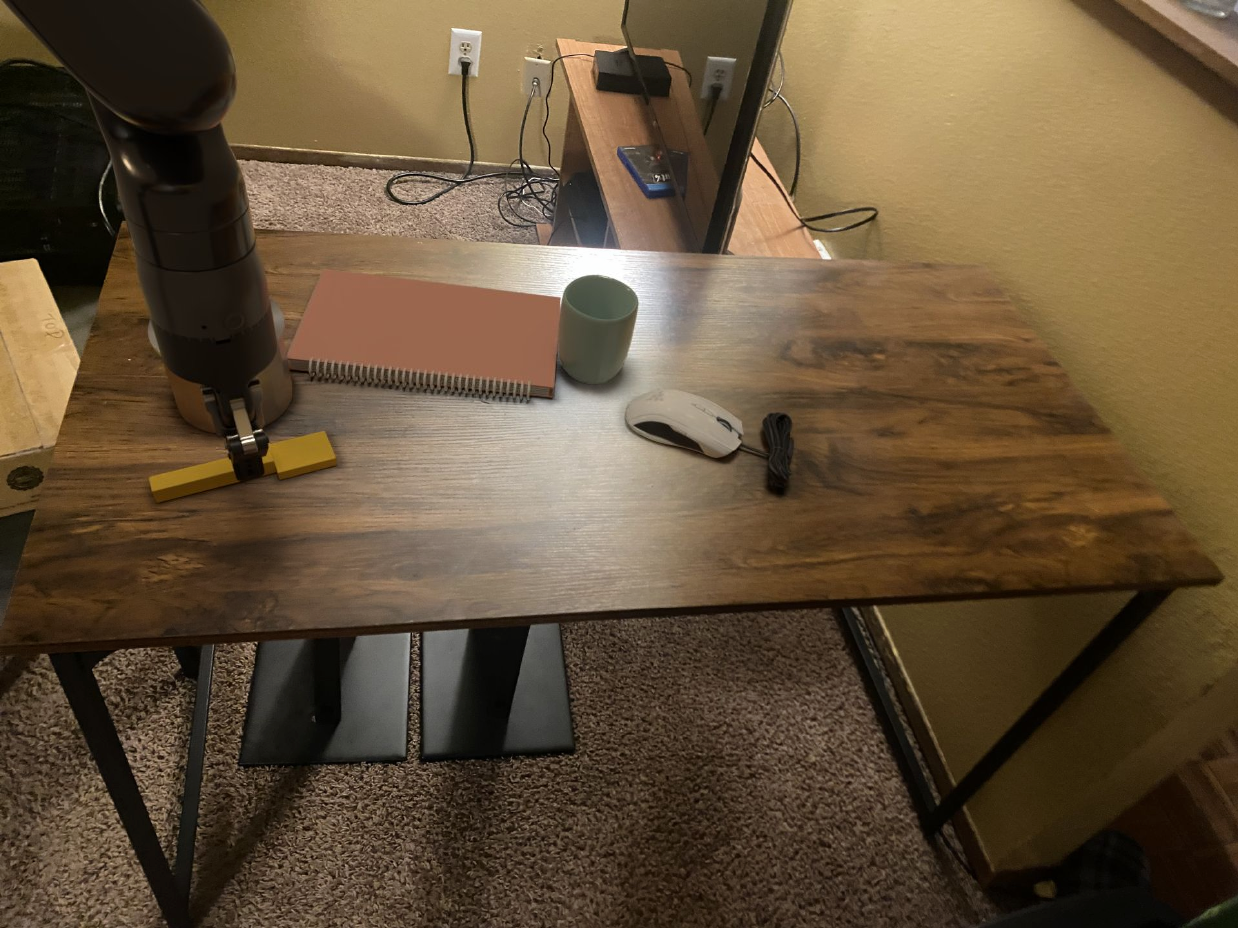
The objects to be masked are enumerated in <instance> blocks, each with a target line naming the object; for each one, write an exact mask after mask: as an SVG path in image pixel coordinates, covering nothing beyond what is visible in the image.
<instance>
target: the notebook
mask: <svg viewBox="0 0 1238 928" xmlns="http://www.w3.org/2000/svg"><path fill="white" fill-rule="evenodd" d="M561 301H562V298H561V297H560V296H552V295H545V294H535V293H528V292H521V291H512V290H503V289H496V288H488V287H478V286H471V285H462V284H461V285H460V284H452V283H446V282H439V281H438V282H437V281H430V280H422V279H414V278H413V279H412V278H404V277H398V276H388V275H381V274H380V275H379V274H370V273H364V272H357V271H356V272H355V271H346V270H339V269H332V268H331V269H330V268H322V269H321V272H320V274H319V277H318V279H317V281H316V283H315V286H314V289H313V290H312V293H311V295H310V298H309V300H308V303H307V305H306V308H305V310H304V313H303V315H302V317H301V319H300V322H299V325H298V327H297V329H296V332H295V334H294V336H293V338H292V341H291V344H290V345H289V348H288V350H287V352H286V354H287V359H288V365H289V370H292V371H302V372H308V374H309V377H314V376H315V375H316V377H317V378H321V377H322V376H323V377H324V378H325V379H329V377H330V378H331V379H332V380H335V379H336V378H337V379H338V380H341V381H342V380H343V379H345V381H350V380H351V377H352V381H353V382H357V381H358V379H359V382H361V383H364V382H365V380H366V382H367V384H368V383H372V380H373V383H374V384H378V383H379V381H380V383H381V385H385V384H386V381H387V384H388V385H389V386H392V385H393V382H394V385H395V386H396V387H399V386H400V382H401V385H402V387H406V386H407V383H408V387H409V388H413V387H414V384H415V388H416V389H420V388H421V384H422V387H423V389H424V390H427V389H428V385H429V389H430V390H434V389H435V386H436V390H437V391H440V390H442V387H443V390H444V392H447V391H448V389H449V388H450V391H451V393H454V392H455V389H456V388H457V392H458V393H462V389H464V393H465V394H468V393H469V390H471V394H472V395H475V394H476V390H478V395H481V396H482V394H483V391H485V396H489V393H490V392H492V393H491V394H492V396H493V397H496V393H498V396H499V398H501V397H503V393H505V397H506V398H509V397H510V394H512V398H513V399H516V397H517V395H519V399H520V400H522V399H523V396H524V395H525V396H526V400H527V401H529V400H530V396H535V397H543V398H552V399H553V398H554V389H555V380H556V379H555V377H556V363H557V353H558V328H559V318H560V309H561ZM344 377H345V378H344Z"/></svg>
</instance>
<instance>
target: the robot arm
mask: <svg viewBox="0 0 1238 928" xmlns="http://www.w3.org/2000/svg"><path fill="white" fill-rule="evenodd" d="M1 2H2V3H3V4H4V5H5V7H7V8H8V10H9V11H10V12H11V13H12V14H13V15H14V16H15V17H16V18H17V19H18V20H19V21H20V22H21V23H22V24H23V25H24V27H25V28H26V29H27V30H28V31H29V32H30V33H31V34H32V35H33V36H34V38H35V39H36V40H37V41H38V42H40V43H41V44H42V45H43V47H44V48H45V49H46V51H48V52H49V53H50V55H52V56H53V57H54V58H55V60H56V61H58V62H59V63H60V65H61V66H62V67H64V69H65V70H66V71H68V73H69V74H70V75H71V76H72V77H73V78H74V79H75V80H77V82H78V83H80V84H81V86H82V87H83V88H84V89H85V92H86V95H87V97H88V101H89V102H90V103H89V104H90V105H91V108H92V111H93V114H94V116H95V119H96V122H97V124H98V127H99V130H100V132H101V134H102V137H103V139H104V141H105V144H106V147H107V151H108V153H109V156H110V160H111V164H112V168H113V173H114V177H115V183H116V189H117V194H118V199H119V202H120V206H121V210H122V212H123V217H124V220H125V222H126V227H127V230H128V233H129V237H130V241H131V244H132V247H133V251H134V257H135V265H136V271H137V273H136V274H137V278H138V284H139V287H140V290H141V294H142V297H143V300H144V303H145V306H146V310H147V314H148V317H149V321H150V320H151V323H152V327H153V330H154V333H155V337H156V340H157V343H158V347H159V350H160V353H161V356H160V358H161V357H162V358H161V360H163V361H162V363H163V362H164V364H165V365H166V367H167V368H168V369H169V370H170V371H171V372H172V373H173V374H175V375H176V376H178V377H180V378H182V379H184V380H186V381H189V382H192V383H196V384H198V385H199V388H200V389H201V393H202V397H203V401H204V404H205V407H206V410H207V412H209V413H210V415H211V417H212V421H213V424H214V427H215V431H216V433H215V434H216V436H217V437H218V438H223V440H224V443H223V446H224V450H225V451H226V450H227V458H229V460H231V463H232V467H233V470H234V473H235V476H236V479H237V480H239V481H240V482H244V481H248V480H252V479H256V478H260V477H263V476H262V475H264V473H265V470H264V465H263V460H262V457H264V456H266V455H267V452H268V449H269V445H268V444H271V443H270V438H269V436H268V435H266V433H265V431H264V430H263V429H264V427H265V426H264V425H265V423H264V417H263V412H262V407H261V403H262V401H263V400H264V398H263V392H262V388H261V384H260V381H259V378H256V376H257V375H258V374H259V373H261V372H262V371H263V370H265V369H266V368H267V367H268V366H269V365H270V363H271V362H272V361H273V359H274V357H275V355H276V352H277V338H276V332H275V326H274V320H273V314H272V308H271V302H270V298H271V297H270V292H269V285H268V280H267V274H266V269H265V264H264V260H263V257H262V255H261V251H260V249H259V246H258V243H257V238H256V233H255V228H254V221H253V216H252V211H251V210H252V209H251V203H250V200H249V199H250V198H249V195H248V189H247V184H246V181H245V177H244V175H243V172H242V169H241V166H240V164H239V162H238V160H237V157H236V155H235V154H234V152H233V150H232V148H231V146H230V144H229V142H228V140H227V137H226V135H225V131H224V127H223V122H222V121H223V120H224V119H225V117H226V116H227V115H228V113H230V110H231V108H232V107H233V104H234V102H235V98H236V94H237V89H238V70H237V69H238V68H237V64H236V59H235V55H234V53H233V50H232V47H231V45H230V42H229V40H228V38H227V37H226V35H225V33H224V31H223V29H221V27H220V25H219V23H217V21H216V19H215V18H214V17H213V15H212V14H211V13H210V12H209V10H208V9H207V8H206V6H205V5H204V4H203V2H202V1H201V0H1ZM164 364H163V365H164ZM264 476H265V475H264Z"/></svg>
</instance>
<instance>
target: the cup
mask: <svg viewBox="0 0 1238 928" xmlns="http://www.w3.org/2000/svg"><path fill="white" fill-rule="evenodd" d="M639 304H640V303H639V297H638V295H637V294H636V292H635V291H634V290H633V288H632V287H630V286H629V285H627V284H626V283H625V282H622V281H621V280H618V279H616V278H613V277H610V276H606V275H603V274H602V275H601V274H587V275H582V276H580V277H577V278H575V279H573V280H572V281H570V282H569V284H567V285H566V287H565V289H564V290H563V293H562V298H561V301H560V314H559V327H558V340H557V353H558V360H559V362H560V365H561V367H562V368H563V371H564V372H565V373H566V374H567V375H569V376H570V377H571V378H573V379H574V380H576V381H578V382H580V383H583V384H588V385H601V384H604V383H606V382H609V381H610V380H612V379H613V378H614V377H616V376H617V374H618V373H619V372H620V371H621V369H622V367H623V366H624V364H625V362H626V359H627V358H628V355H629V351H630V348H631V345H632V341H633V337H634V332H635V327H636V322H637V317H638V311H639Z"/></svg>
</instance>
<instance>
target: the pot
mask: <svg viewBox="0 0 1238 928" xmlns="http://www.w3.org/2000/svg"><path fill="white" fill-rule="evenodd" d="M286 349H287V348H286V344H285V338H284V336H283V337H282V339H281V340H280V342H279V343H278V344H277V352H276V355H275V357H274V359H273V361H272V362H271V363H270V365H269V366H268V367H267V368H266V369H265V370H263V371H262V372H261V373H259V374H258V375H257V376H256V378H259V381H260V384H261V388H262V392H263V398H264V400H263V401H262V403H261V407H262V412H263V417H264V423H265V425H264V427H266V426H268V425H270V424H271V423H273V422H275V421H276V420H278V419H279V418H280V417H281V416H282V415H283V414H284V413H285V412H286V411H287V409H288V408H289V406H290V405H291V403H292V399H293V381H292V376H291V371H290V370H291V369H289V365H288V364H289V360H288V359H287V350H286ZM160 358H161V360H162V357H161V356H160ZM162 364H163V367H164V370H165V373H166V376H167V379H168V381H169V386H170V388H171V392H172V394H173V397H174V400H175V404H176V406H177V410H178V412H179V414H180V415H181V417H182V419H184V421H186V422H187V423H188V424H189V425H190V426H193V427H194V428H196V429H199V430H201V431H203V432H208V433H211V434H216V431H215V427H214V424H213V421H212V417H211V415H210V413H209V412H207V410H206V407H205V404H204V401H203V397H202V393H201V389H200V388H199V385H198V384H196V383H192V382H189V381H186V380H184V379H182V378H180V377H178V376H176V375H175V374H173V373H172V372H171V371H170V370H169V369H168V368H167V367H166V365H165V364H164V362H163V360H162Z"/></svg>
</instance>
